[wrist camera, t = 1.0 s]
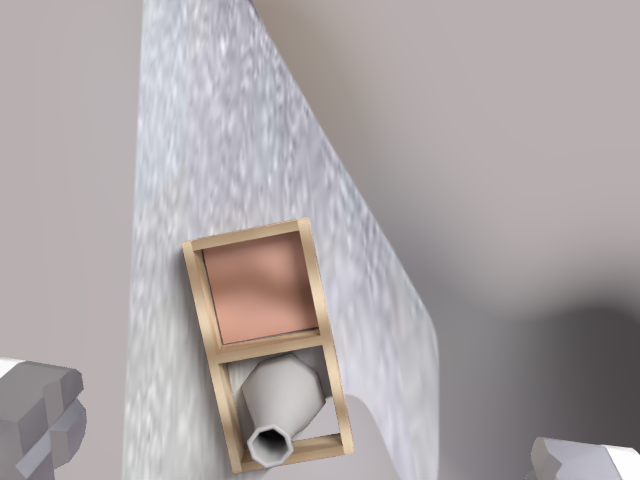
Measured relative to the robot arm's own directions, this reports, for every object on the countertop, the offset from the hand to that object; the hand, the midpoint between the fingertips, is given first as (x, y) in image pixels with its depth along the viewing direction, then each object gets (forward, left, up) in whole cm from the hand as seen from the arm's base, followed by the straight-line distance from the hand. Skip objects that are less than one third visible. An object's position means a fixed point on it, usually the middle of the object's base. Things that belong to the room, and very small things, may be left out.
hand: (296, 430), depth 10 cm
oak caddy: (-9, +7, -38) cm, 40 cm away
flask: (-13, +7, -38) cm, 41 cm away
